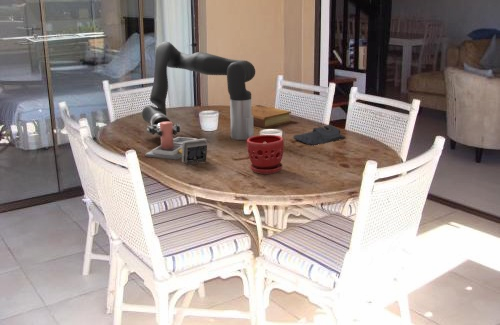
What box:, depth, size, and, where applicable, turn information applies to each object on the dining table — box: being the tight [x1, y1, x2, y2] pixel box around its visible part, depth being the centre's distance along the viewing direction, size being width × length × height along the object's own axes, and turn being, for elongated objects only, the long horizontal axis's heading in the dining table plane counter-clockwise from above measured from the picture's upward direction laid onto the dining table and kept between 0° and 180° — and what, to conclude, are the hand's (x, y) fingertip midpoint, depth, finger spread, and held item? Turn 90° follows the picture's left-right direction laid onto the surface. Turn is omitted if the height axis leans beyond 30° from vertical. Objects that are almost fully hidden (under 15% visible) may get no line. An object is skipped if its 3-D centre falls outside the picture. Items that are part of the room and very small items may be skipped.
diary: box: [251, 104, 292, 129], centre depth 281 cm, size 23×19×6 cm
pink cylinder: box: [160, 121, 174, 149], centre depth 227 cm, size 5×5×10 cm
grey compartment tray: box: [145, 136, 198, 160], centre depth 234 cm, size 14×24×2 cm, turn 158°
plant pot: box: [246, 134, 285, 175], centre depth 205 cm, size 13×13×12 cm
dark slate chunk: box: [293, 124, 346, 147], centre depth 248 cm, size 15×22×5 cm
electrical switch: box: [181, 138, 208, 166], centre depth 215 cm, size 9×5×9 cm, turn 113°
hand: (167, 133), depth 224 cm, fingers closed on pink cylinder, 5 cm apart
